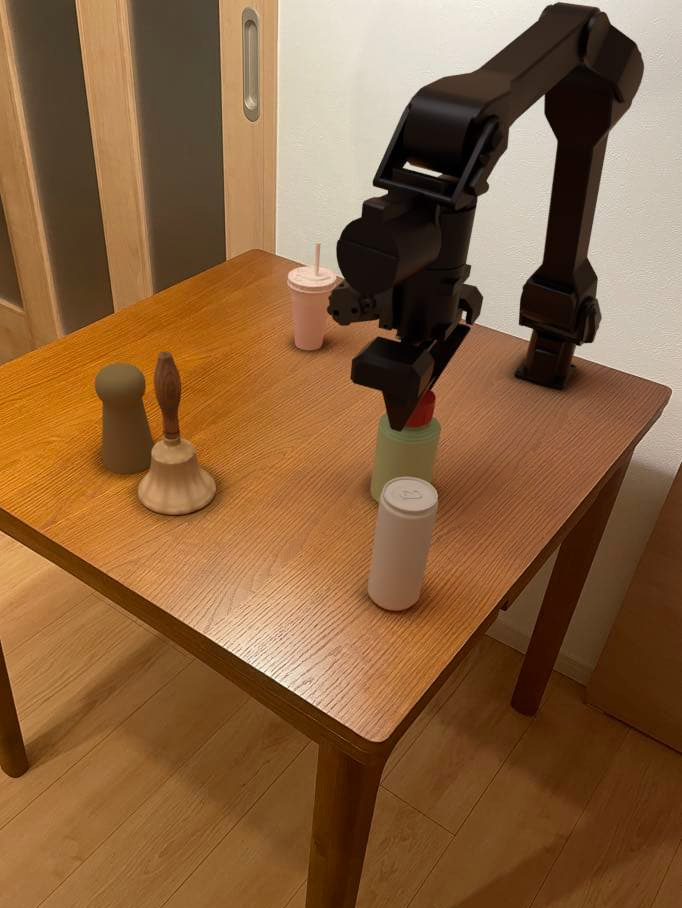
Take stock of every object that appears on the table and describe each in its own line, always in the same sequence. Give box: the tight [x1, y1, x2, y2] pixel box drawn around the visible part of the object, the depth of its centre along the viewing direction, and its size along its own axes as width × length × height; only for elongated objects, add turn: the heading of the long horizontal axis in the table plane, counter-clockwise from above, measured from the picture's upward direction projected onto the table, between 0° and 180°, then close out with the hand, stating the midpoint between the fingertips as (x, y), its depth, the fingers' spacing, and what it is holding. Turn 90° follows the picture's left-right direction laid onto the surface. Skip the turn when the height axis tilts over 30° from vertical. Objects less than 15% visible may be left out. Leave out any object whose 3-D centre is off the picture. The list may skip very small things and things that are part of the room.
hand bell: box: [137, 350, 217, 516], centre depth 79 cm, size 8×8×16 cm
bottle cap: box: [405, 389, 437, 427], centre depth 78 cm, size 4×4×2 cm
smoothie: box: [286, 241, 337, 351], centre depth 105 cm, size 6×6×14 cm
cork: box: [94, 362, 155, 475], centre depth 85 cm, size 6×6×11 cm
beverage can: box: [367, 477, 439, 612], centre depth 70 cm, size 5×5×12 cm
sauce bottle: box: [369, 412, 442, 504], centre depth 82 cm, size 6×6×11 cm
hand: (408, 412), depth 78 cm, fingers open, 6 cm apart
